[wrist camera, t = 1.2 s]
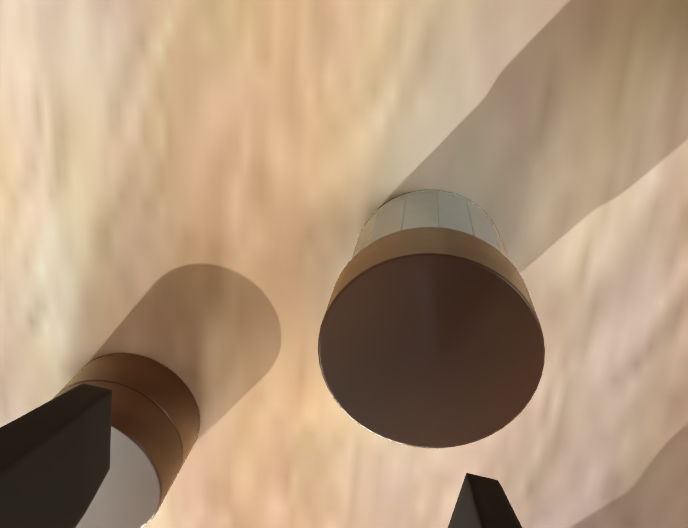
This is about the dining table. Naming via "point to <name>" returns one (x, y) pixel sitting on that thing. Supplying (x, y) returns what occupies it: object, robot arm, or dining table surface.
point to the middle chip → (134, 462)
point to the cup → (429, 217)
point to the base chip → (149, 390)
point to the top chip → (431, 339)
